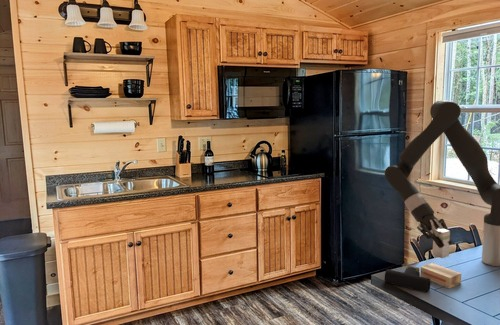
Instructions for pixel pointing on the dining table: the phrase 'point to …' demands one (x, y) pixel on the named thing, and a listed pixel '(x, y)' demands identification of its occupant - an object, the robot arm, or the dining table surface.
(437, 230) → the jack column
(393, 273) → the pipe connector
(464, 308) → the dining table surface
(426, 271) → the block
